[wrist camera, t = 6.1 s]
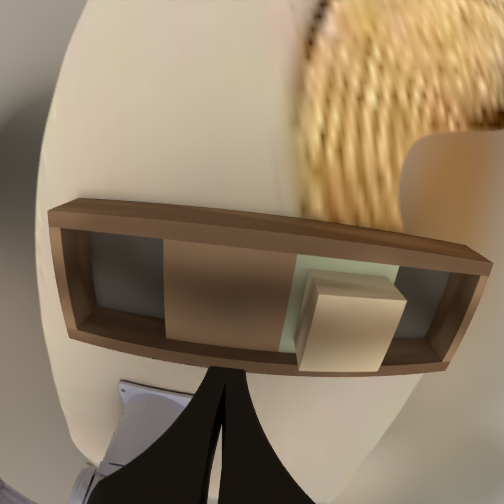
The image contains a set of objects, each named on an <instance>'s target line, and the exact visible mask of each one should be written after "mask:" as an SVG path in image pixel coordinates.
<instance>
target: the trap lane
mask: <svg viewBox="0 0 504 504" xmlns="http://www.w3.org/2000/svg"><path fill="white" fill-rule="evenodd" d="M48 223H49V234H50V243H51V251H52V258H53V265H54V271H55V277H56V283H57V288H58V293H59V298H60V303H61V307H62V311H63V316H64V320H65V324H66V328H67V331H68V335H69V338H71V339H75V340H78V341H82V342H85V343H89V344H92V345H96V346H100V347H104V348H108V349H112V350H116V351H120V352H124V353H129V354H133V355H138V356H143V357H147V358H152V359H158V360H163V361H168V362H174V363H180V364H186V365H192V366H199V367H206V368H209V367H210V366H219V367H227V368H236V369H243V370H244V371H246V372H248V373H259V374H272V375H288V376H311V377H368V376H391V375H406V374H418V373H429V372H437V371H445V370H446V368H447V367H448V365H449V363H450V361H451V360H452V358H453V356H454V354H455V352H456V350H457V348H458V347H459V345H460V343H461V341H462V338H463V337H464V335H465V332H466V330H467V328H468V326H469V324H470V322H471V320H472V317H473V315H474V313H475V310H476V308H477V306H478V303H479V301H480V299H481V296H482V294H483V291H484V288H485V286H486V283H487V280H488V277H489V275H490V271H491V268H492V266H493V263H492V262H491V261H489V260H488V259H486V258H485V257H483V256H482V255H480V254H479V253H477V252H475V251H474V250H472V249H471V248H469V247H467V246H466V245H462V244H456V243H451V242H446V241H441V240H436V239H430V238H424V237H419V236H413V235H407V234H401V233H395V232H389V231H383V230H377V229H371V228H364V227H358V226H351V225H344V224H337V223H330V222H323V221H316V220H309V219H301V218H293V217H285V216H277V215H269V214H260V213H252V212H243V211H234V210H224V209H214V208H204V207H194V206H183V205H171V204H159V203H147V202H133V201H118V200H102V199H84V198H78V199H75V200H73V201H70V202H68V203H65V204H63V205H60V206H58V207H55V208H53V209H50V210H48ZM309 269H317V270H326V271H336V272H346V273H355V274H365V275H375V276H385V277H388V279H389V280H390V281H391V282H392V283H393V284H394V286H395V287H396V288H397V289H398V290H399V292H400V293H401V294H402V295H403V296H404V298H405V299H406V300H407V302H406V305H405V308H404V311H403V313H402V316H401V318H400V321H399V324H398V326H397V329H396V331H395V333H394V336H393V338H392V341H391V343H390V345H389V348H388V350H387V352H386V354H385V356H384V359H383V361H382V363H381V365H380V367H379V369H378V371H373V372H316V371H299V370H298V363H297V357H296V350H295V344H294V336H295V332H296V328H297V323H298V319H299V315H300V310H301V306H302V301H303V297H304V292H305V287H306V283H307V278H308V273H309Z"/></svg>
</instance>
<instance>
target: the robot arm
mask: <svg viewBox="0 0 504 504" xmlns="http://www.w3.org/2000/svg"><path fill="white" fill-rule="evenodd" d="M118 388H119V392H120V395H121V398H122V402H123V405H124V408H125V409H124V411H123V413H122V416H121V418H120V420H119V423H118V425H117V427H116V430H115V432H114V434H113V437H112V439H111V442H110V444H109V447H108V449H107V452H106V454H105V457H104V459H103V461H101V462H100V465H99V467H98V470H97V472H96V468H95V467H93V466H89V467H85V468H82V470H81V471H80V473H79V475H78V477H77V479H76V481H75V483H74V486H73V488H72V491H71V494H70V496H69V499H68V503H67V504H207V499H208V490H209V482H210V474H211V468H212V463H213V459H214V455H215V451H216V446H217V442H218V438H219V433H220V429H221V425H222V470H221V479H220V488H219V498H218V504H316V503H315V502H313V501H312V500H311V498H310V497H309V496H308V495H307V494H306V493H305V492H304V491H303V490H302V489H301V488H300V486H299V485H298V484H297V483H296V482H295V480H294V479H293V478H292V476H291V475H290V474H289V472H288V471H287V470H286V468H285V467H284V466H283V464H282V463H281V461H280V460H279V458H278V457H277V455H276V453H275V452H274V450H273V448H272V446H271V445H270V443H269V441H268V439H267V437H266V435H265V433H264V431H263V429H262V427H261V424H260V422H259V420H258V417H257V415H256V412H255V409H254V406H253V403H252V400H251V397H250V393H249V390H248V385H247V380H246V371H244V370H243V369H236V368H227V367H219V366H210V367H209V368H208V371H207V373H206V375H205V377H204V379H203V381H202V383H201V385H200V386H199V388H198V390H197V391H196V393H195V394H194V396H192V395H185V394H180V393H174V392H169V391H164V390H159V389H154V388H149V387H145V386H140V385H136V384H132V383H128V382H124V381H120V382H119V383H118ZM0 504H37V503H35V502H34V501H32V500H30V499H29V498H27V497H26V496H24V495H22V494H21V493H19V492H18V491H16V490H15V489H13V488H12V487H10V486H9V485H7V484H6V483H5V482H3V480H2V479H1V478H0Z"/></svg>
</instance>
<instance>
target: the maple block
mask: <svg viewBox="0 0 504 504" xmlns="http://www.w3.org/2000/svg"><path fill="white" fill-rule="evenodd" d="M406 302H407V300H406V299H405V298H404V296H403V295H402V294H401V293H400V292H399V290H398V289H397V288H396V287H395V286H394V284H393V283H392V282H391V281H390V280H389V279H388V277H385V276H375V275H365V274H355V273H346V272H336V271H326V270H317V269H309V273H308V278H307V283H306V287H305V292H304V297H303V301H302V306H301V310H300V315H299V319H298V323H297V328H296V332H295V336H294V344H295V350H296V357H297V363H298V370H299V371H316V372H373V371H378V369H379V367H380V365H381V363H382V361H383V359H384V356H385V354H386V352H387V350H388V348H389V345H390V343H391V341H392V338H393V336H394V333H395V331H396V329H397V326H398V324H399V321H400V318H401V316H402V313H403V311H404V308H405V305H406Z"/></svg>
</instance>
